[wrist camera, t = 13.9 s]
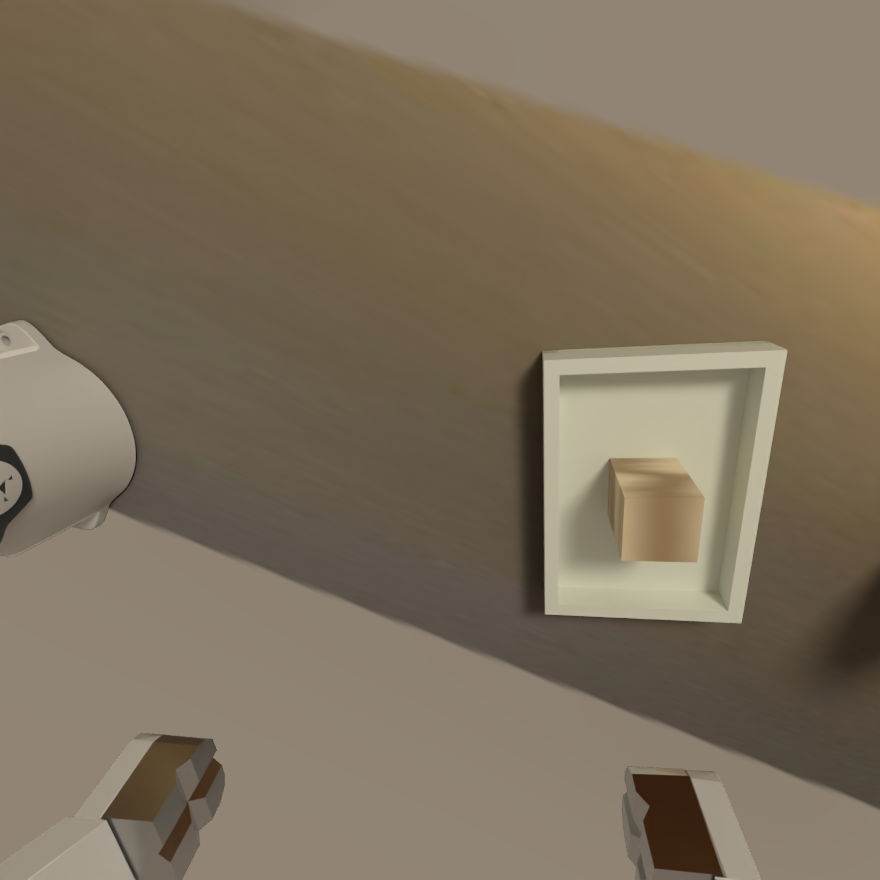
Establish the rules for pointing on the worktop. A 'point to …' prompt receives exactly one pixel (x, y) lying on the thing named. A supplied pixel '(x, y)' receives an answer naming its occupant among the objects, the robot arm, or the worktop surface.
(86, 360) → the worktop surface
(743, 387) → the shallow rimmed tray
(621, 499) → the birch block
